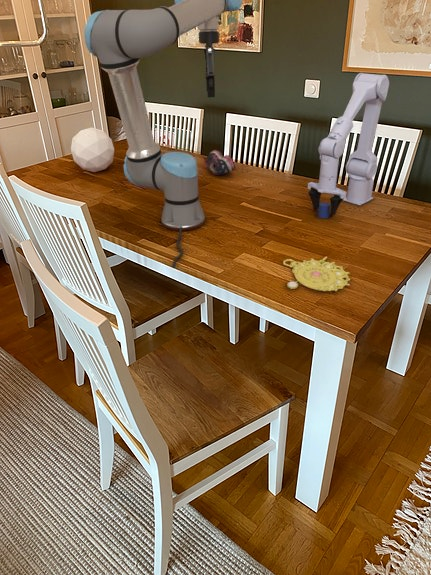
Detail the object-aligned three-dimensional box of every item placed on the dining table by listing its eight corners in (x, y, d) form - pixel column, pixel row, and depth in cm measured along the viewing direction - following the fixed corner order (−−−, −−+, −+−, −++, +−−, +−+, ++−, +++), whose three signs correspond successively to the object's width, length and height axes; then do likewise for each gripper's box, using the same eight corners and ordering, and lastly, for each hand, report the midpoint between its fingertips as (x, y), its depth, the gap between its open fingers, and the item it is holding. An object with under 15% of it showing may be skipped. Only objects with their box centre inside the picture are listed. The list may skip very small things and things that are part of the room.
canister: (315, 214, 158) (317, 203, 156) (325, 213, 159) (326, 201, 157) (321, 219, 155) (322, 207, 153) (331, 217, 156) (332, 205, 154)
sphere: (101, 187, 208) (88, 161, 190) (70, 166, 213) (54, 139, 194) (127, 159, 213) (117, 131, 194) (96, 140, 218) (83, 111, 199)
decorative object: (332, 298, 110) (265, 270, 120) (331, 306, 111) (265, 278, 122) (367, 265, 123) (304, 242, 133) (365, 272, 125) (303, 249, 135)
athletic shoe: (215, 150, 209) (192, 156, 205) (235, 143, 189) (210, 149, 185) (221, 174, 212) (199, 180, 208) (241, 169, 192) (217, 176, 188)
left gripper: (220, 32, 149) (222, 99, 161) (217, 28, 170) (218, 88, 182) (198, 32, 149) (201, 100, 161) (198, 29, 170) (200, 89, 182)
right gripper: (303, 173, 151) (300, 210, 159) (339, 182, 142) (334, 221, 150) (316, 168, 155) (312, 204, 163) (352, 177, 146) (346, 215, 154)
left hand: (210, 94), depth 171 cm, fingers open, 13 cm apart
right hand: (324, 212), depth 156 cm, fingers open, 7 cm apart
